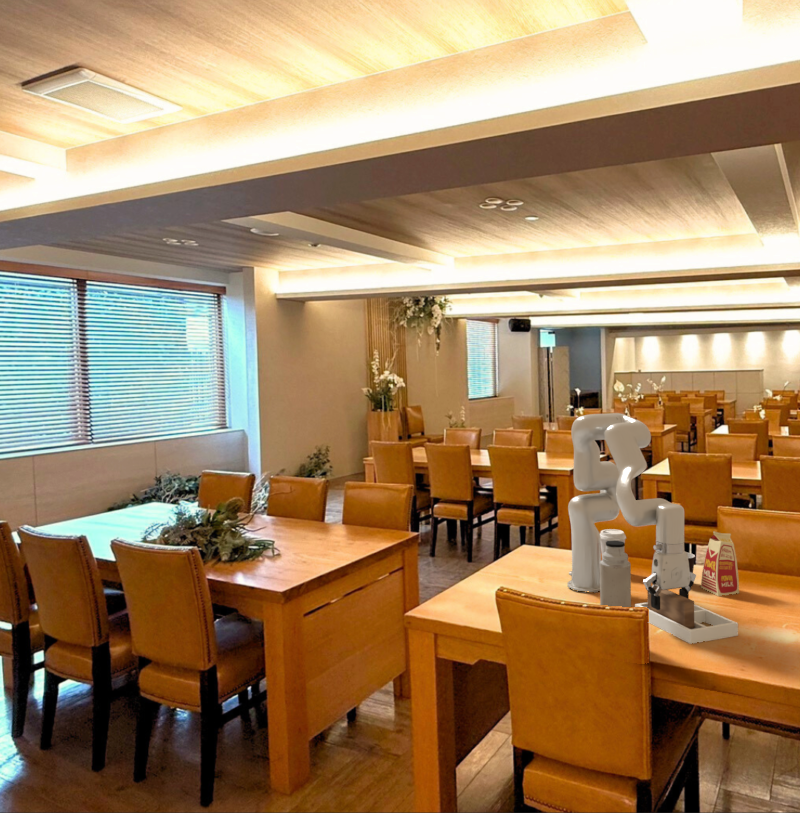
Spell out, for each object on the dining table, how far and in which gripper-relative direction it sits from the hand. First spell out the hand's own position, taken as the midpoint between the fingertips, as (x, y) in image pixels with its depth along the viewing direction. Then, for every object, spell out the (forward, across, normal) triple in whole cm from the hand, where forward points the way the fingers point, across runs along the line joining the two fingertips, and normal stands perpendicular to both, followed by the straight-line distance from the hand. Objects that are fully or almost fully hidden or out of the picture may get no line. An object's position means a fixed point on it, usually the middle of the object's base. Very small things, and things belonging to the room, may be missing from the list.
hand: (669, 606), depth 210 cm
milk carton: (+7, +37, +21) cm, 43 cm away
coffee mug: (+7, +31, +33) cm, 45 cm away
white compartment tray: (+6, +5, 0) cm, 8 cm away
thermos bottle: (+6, -21, -4) cm, 23 cm away
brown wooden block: (+6, 0, 0) cm, 6 cm away
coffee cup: (+7, +17, +52) cm, 55 cm away
